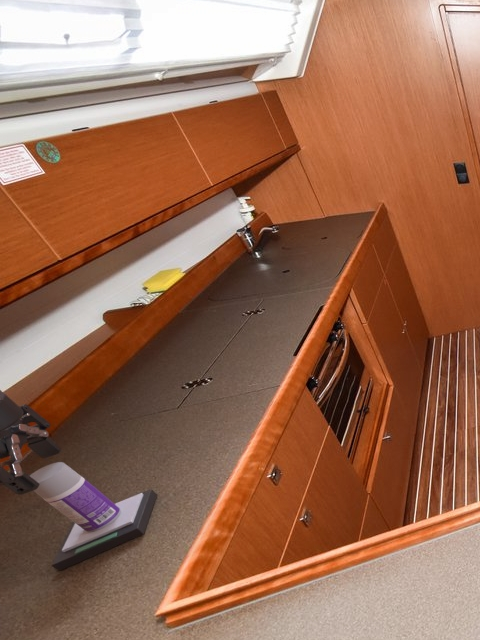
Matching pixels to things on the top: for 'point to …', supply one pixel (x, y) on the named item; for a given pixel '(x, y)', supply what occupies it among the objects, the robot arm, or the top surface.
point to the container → (75, 497)
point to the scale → (106, 531)
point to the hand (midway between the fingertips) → (42, 471)
